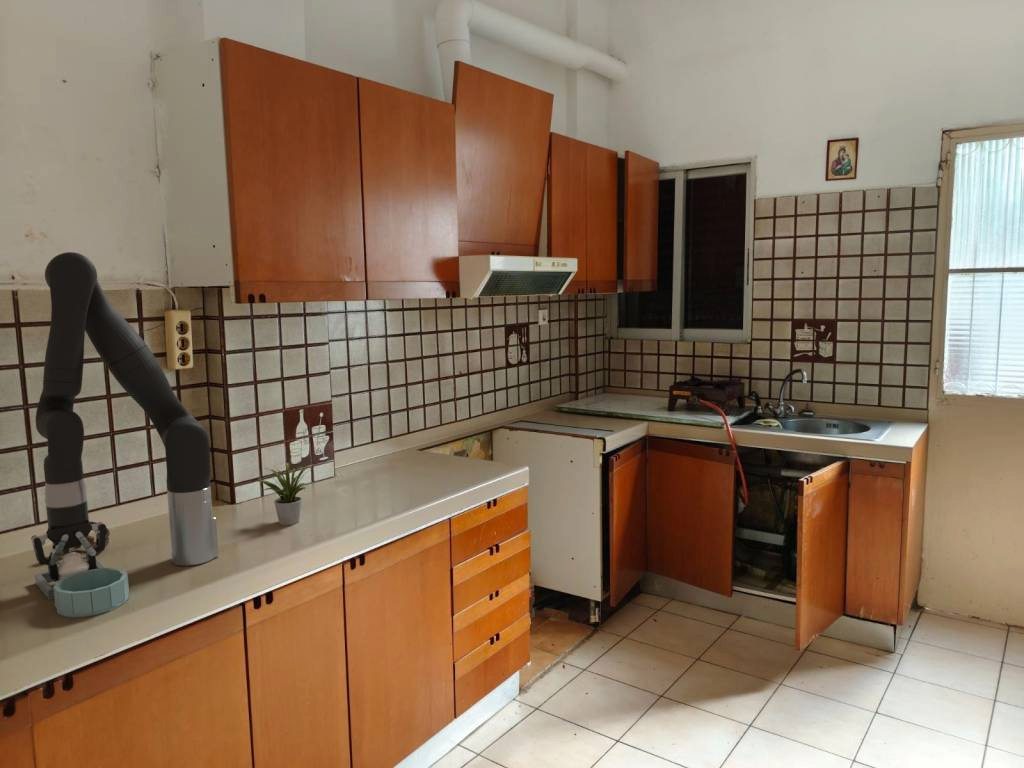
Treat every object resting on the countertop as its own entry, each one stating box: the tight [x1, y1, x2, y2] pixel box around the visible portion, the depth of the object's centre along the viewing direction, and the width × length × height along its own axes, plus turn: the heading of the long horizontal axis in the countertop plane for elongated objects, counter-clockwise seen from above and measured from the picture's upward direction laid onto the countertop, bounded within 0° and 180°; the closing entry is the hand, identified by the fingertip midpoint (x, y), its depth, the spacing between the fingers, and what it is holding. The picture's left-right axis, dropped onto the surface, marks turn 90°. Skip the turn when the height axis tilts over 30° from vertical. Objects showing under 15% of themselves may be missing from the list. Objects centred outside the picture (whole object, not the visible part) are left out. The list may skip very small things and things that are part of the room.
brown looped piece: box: [61, 521, 111, 556], centre depth 178 cm, size 12×10×8 cm
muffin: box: [57, 551, 89, 580], centre depth 160 cm, size 6×6×7 cm
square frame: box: [34, 559, 105, 601], centre depth 161 cm, size 12×12×2 cm
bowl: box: [52, 567, 130, 619], centre depth 150 cm, size 13×13×5 cm
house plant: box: [258, 462, 314, 526], centre depth 201 cm, size 14×14×16 cm
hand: (73, 575), depth 161 cm, fingers closed on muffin, 6 cm apart
